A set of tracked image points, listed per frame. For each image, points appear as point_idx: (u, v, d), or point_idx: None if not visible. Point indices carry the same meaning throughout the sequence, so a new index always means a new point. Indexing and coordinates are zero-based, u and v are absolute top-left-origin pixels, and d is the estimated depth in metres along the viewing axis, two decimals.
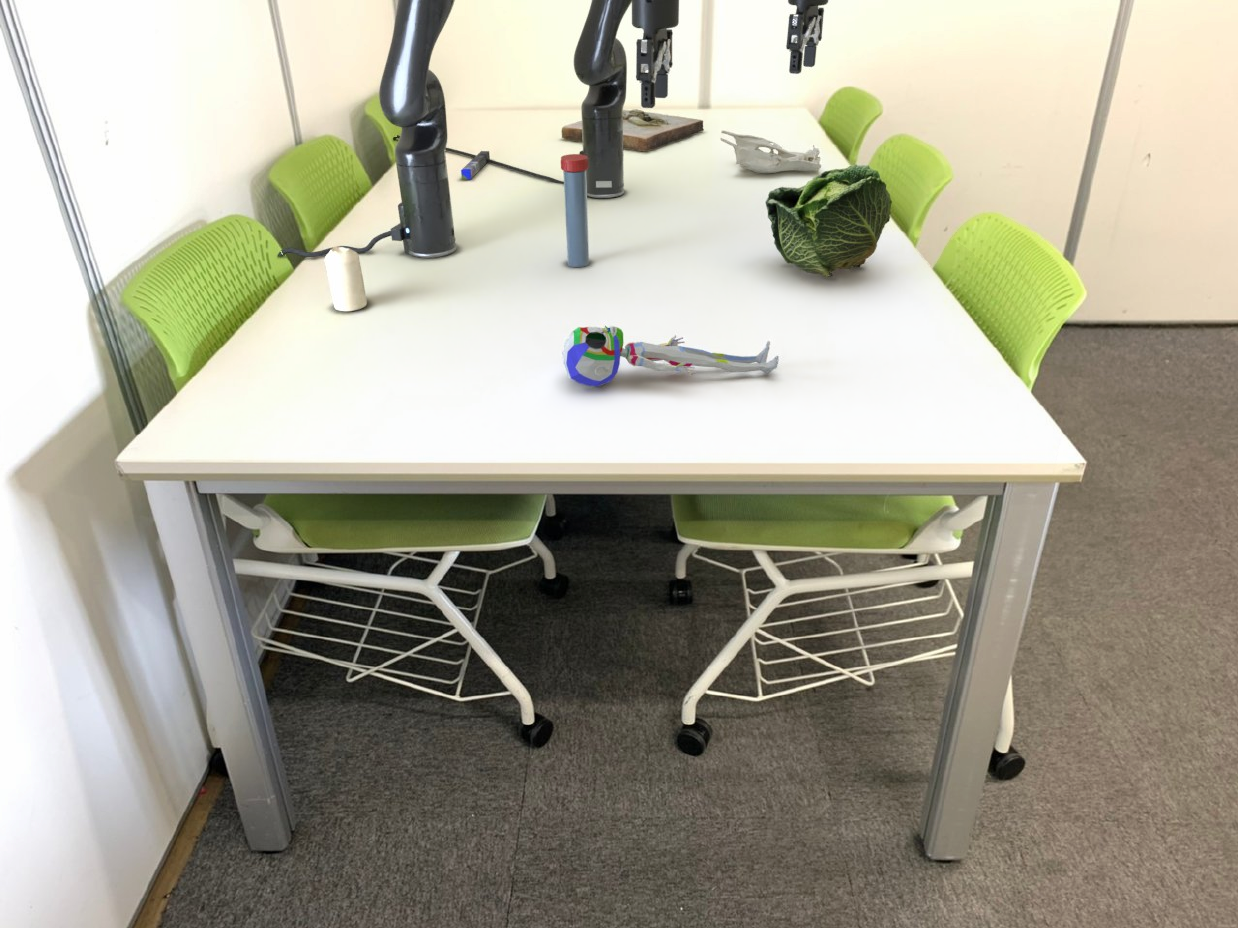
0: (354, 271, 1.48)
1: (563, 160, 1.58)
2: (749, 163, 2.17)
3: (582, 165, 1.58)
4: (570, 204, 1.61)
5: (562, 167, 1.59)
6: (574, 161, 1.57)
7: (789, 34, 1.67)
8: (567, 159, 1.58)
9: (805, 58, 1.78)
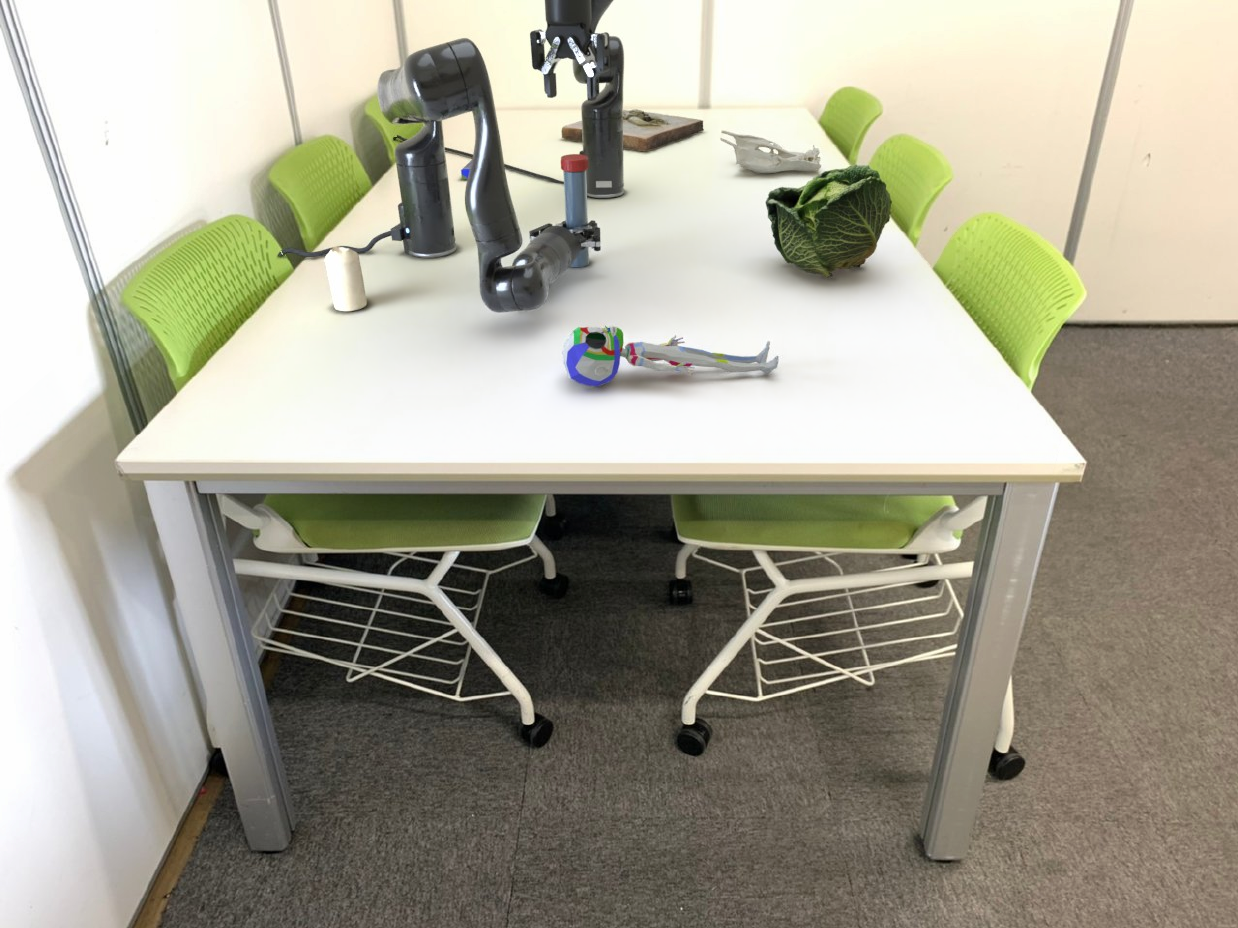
0: (354, 271, 1.48)
1: (563, 160, 1.58)
2: (749, 163, 2.17)
3: (582, 165, 1.58)
4: (570, 204, 1.61)
5: (562, 167, 1.59)
6: (574, 161, 1.57)
7: None
8: (567, 159, 1.58)
9: None
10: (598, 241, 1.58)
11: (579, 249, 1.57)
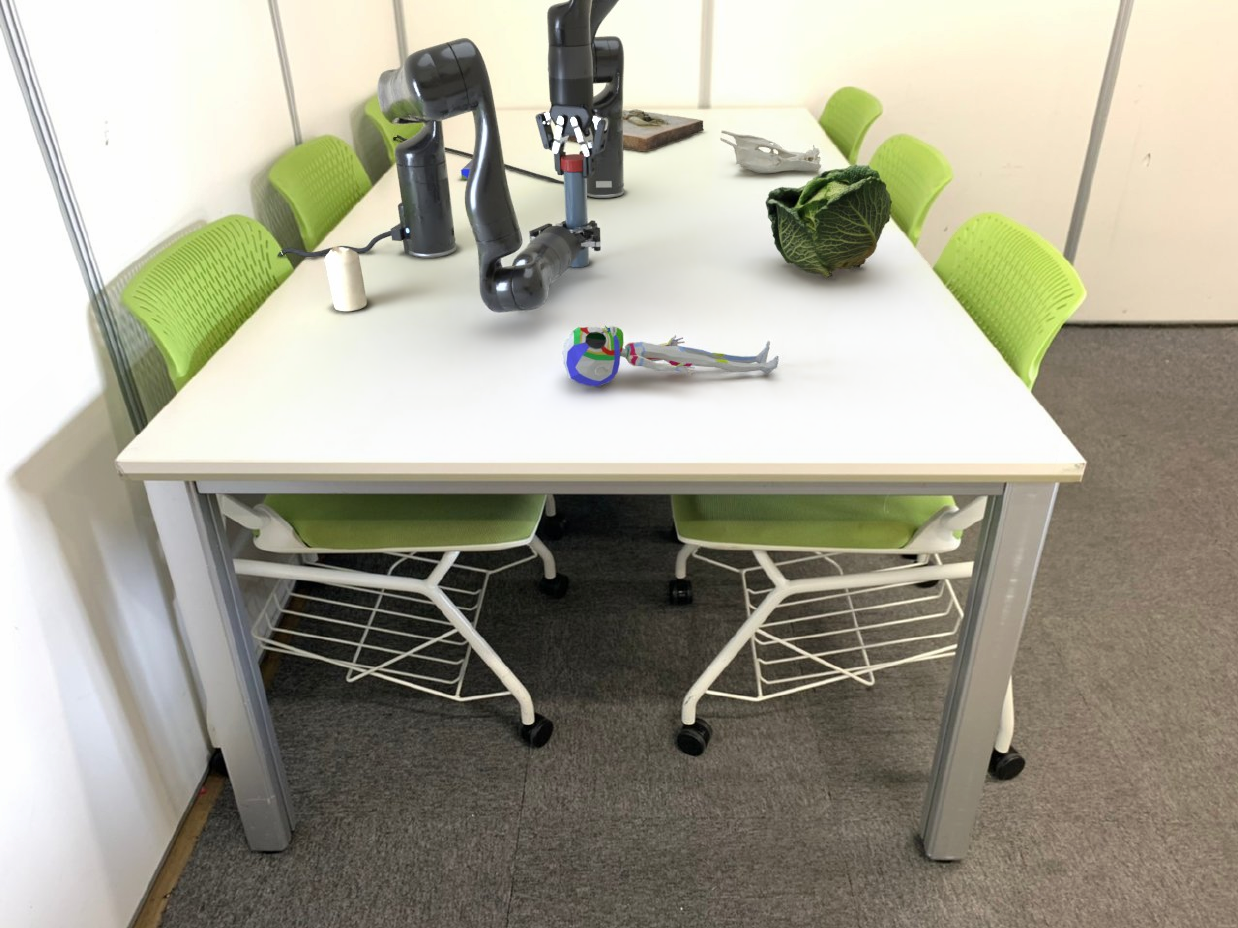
0: (354, 271, 1.48)
1: (563, 160, 1.58)
2: (749, 163, 2.17)
3: (582, 165, 1.58)
4: (570, 204, 1.61)
5: (562, 167, 1.59)
6: (574, 161, 1.57)
7: None
8: (567, 159, 1.58)
9: None
10: (598, 241, 1.58)
11: (579, 249, 1.57)
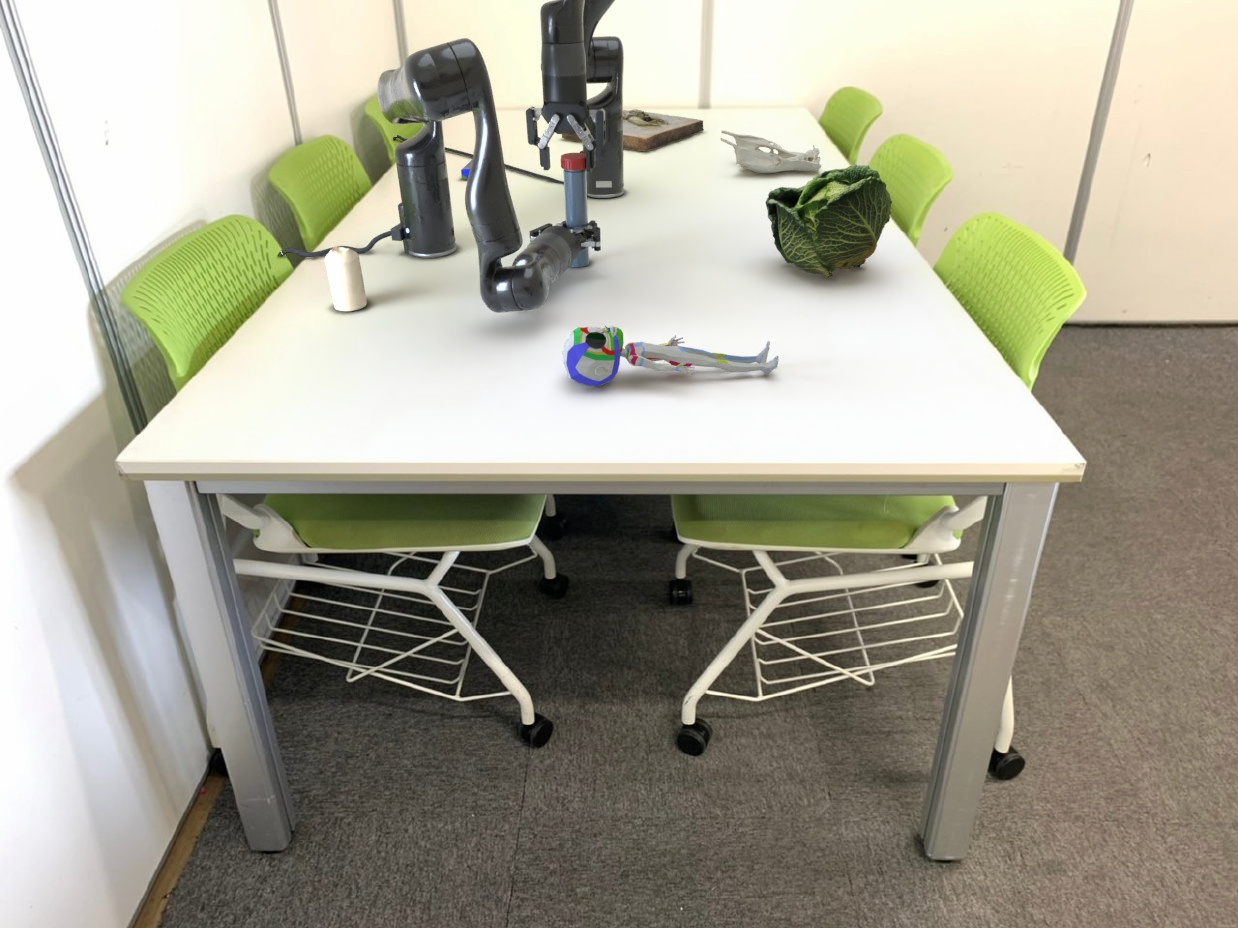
0: (354, 271, 1.48)
1: (583, 158, 1.58)
2: (749, 163, 2.17)
3: None
4: (570, 203, 1.61)
5: (582, 166, 1.58)
6: None
7: None
8: (583, 156, 1.58)
9: None
10: (598, 241, 1.58)
11: (579, 249, 1.57)
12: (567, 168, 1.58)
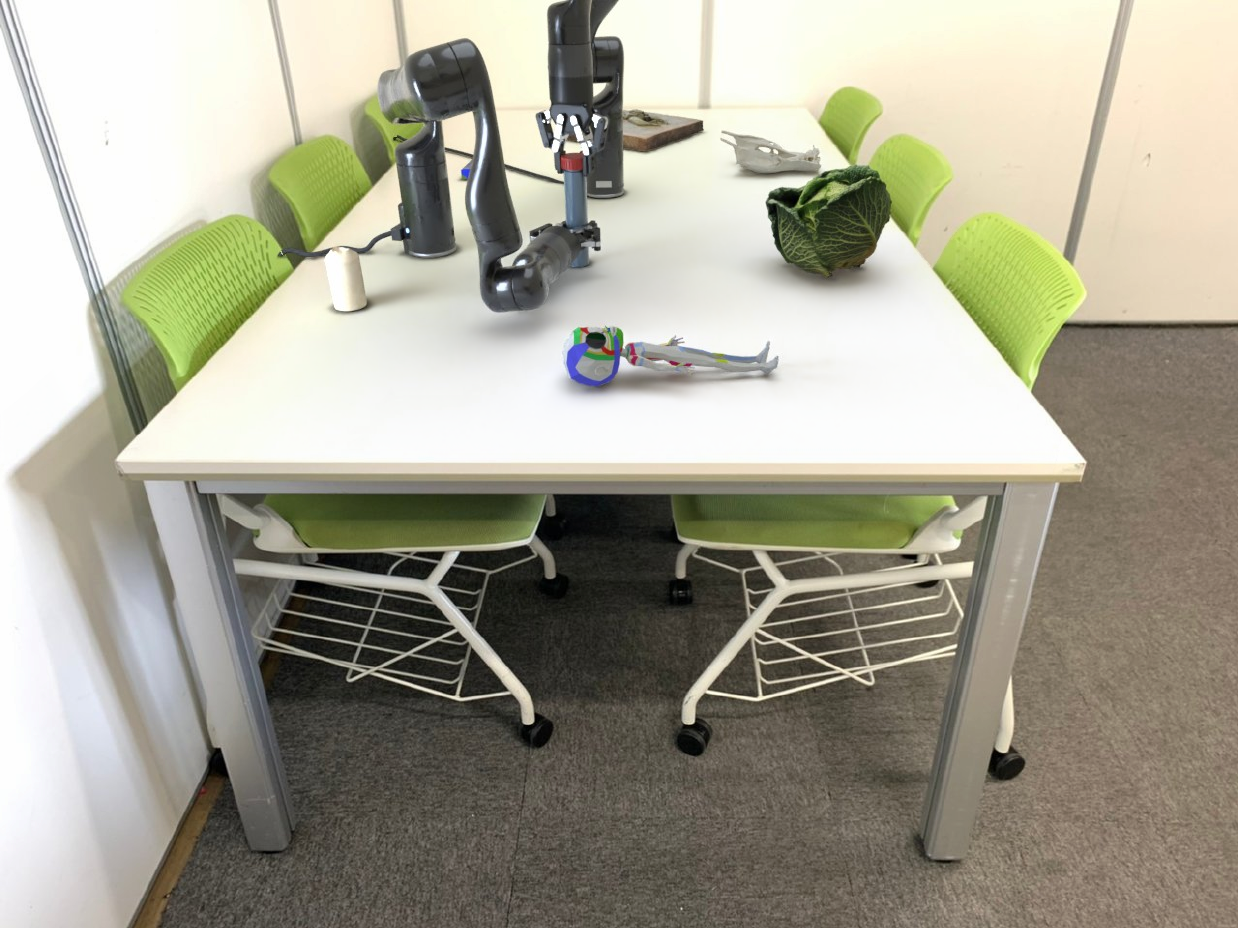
0: (354, 271, 1.48)
1: None
2: (749, 163, 2.17)
3: None
4: (570, 203, 1.61)
5: (582, 166, 1.58)
6: None
7: None
8: None
9: None
10: (598, 241, 1.58)
11: (579, 249, 1.57)
12: (567, 168, 1.58)
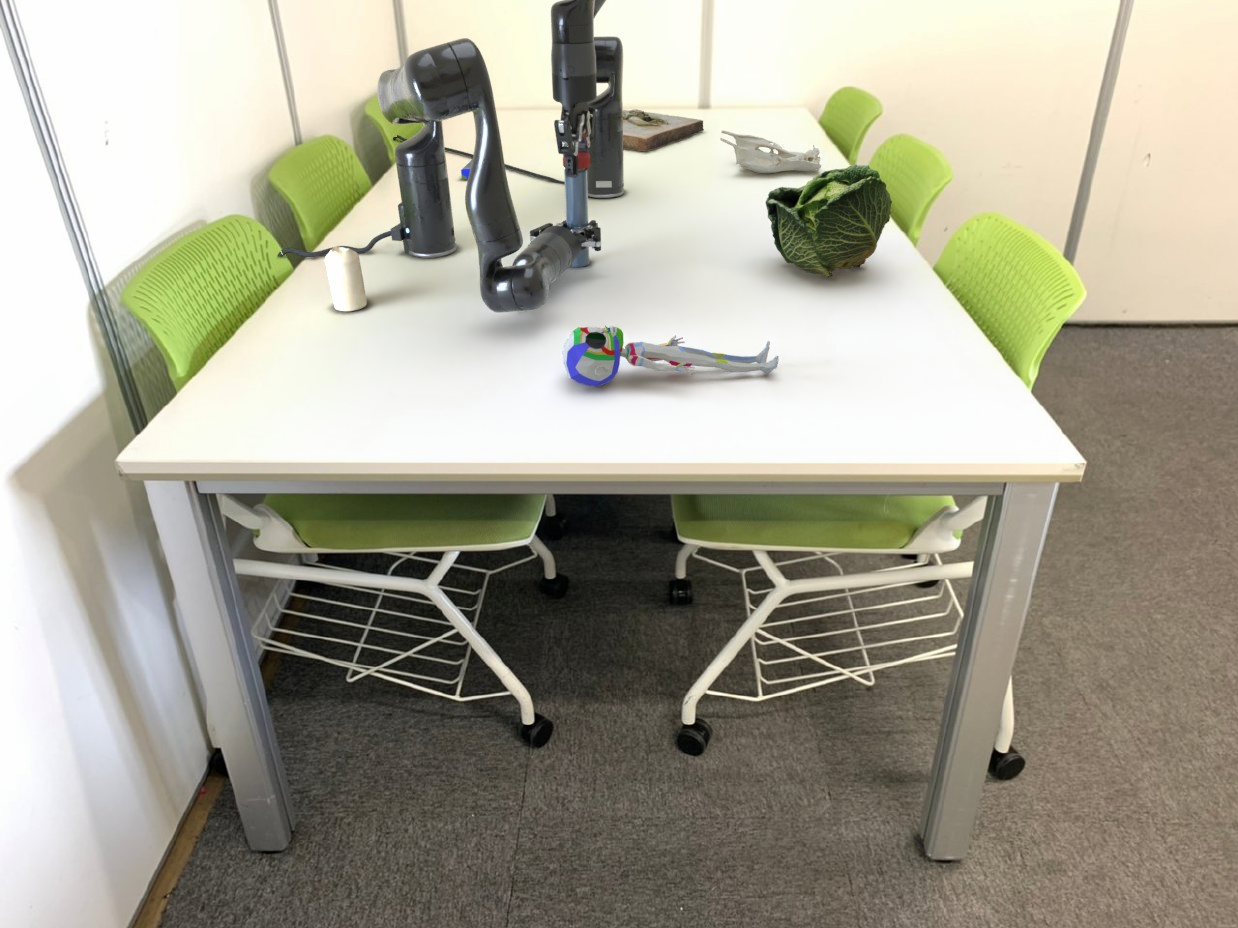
0: (354, 271, 1.48)
1: None
2: (749, 163, 2.17)
3: None
4: (571, 203, 1.61)
5: None
6: None
7: (558, 140, 1.52)
8: (580, 152, 1.60)
9: None
10: (598, 241, 1.58)
11: (579, 249, 1.57)
12: (588, 165, 1.59)
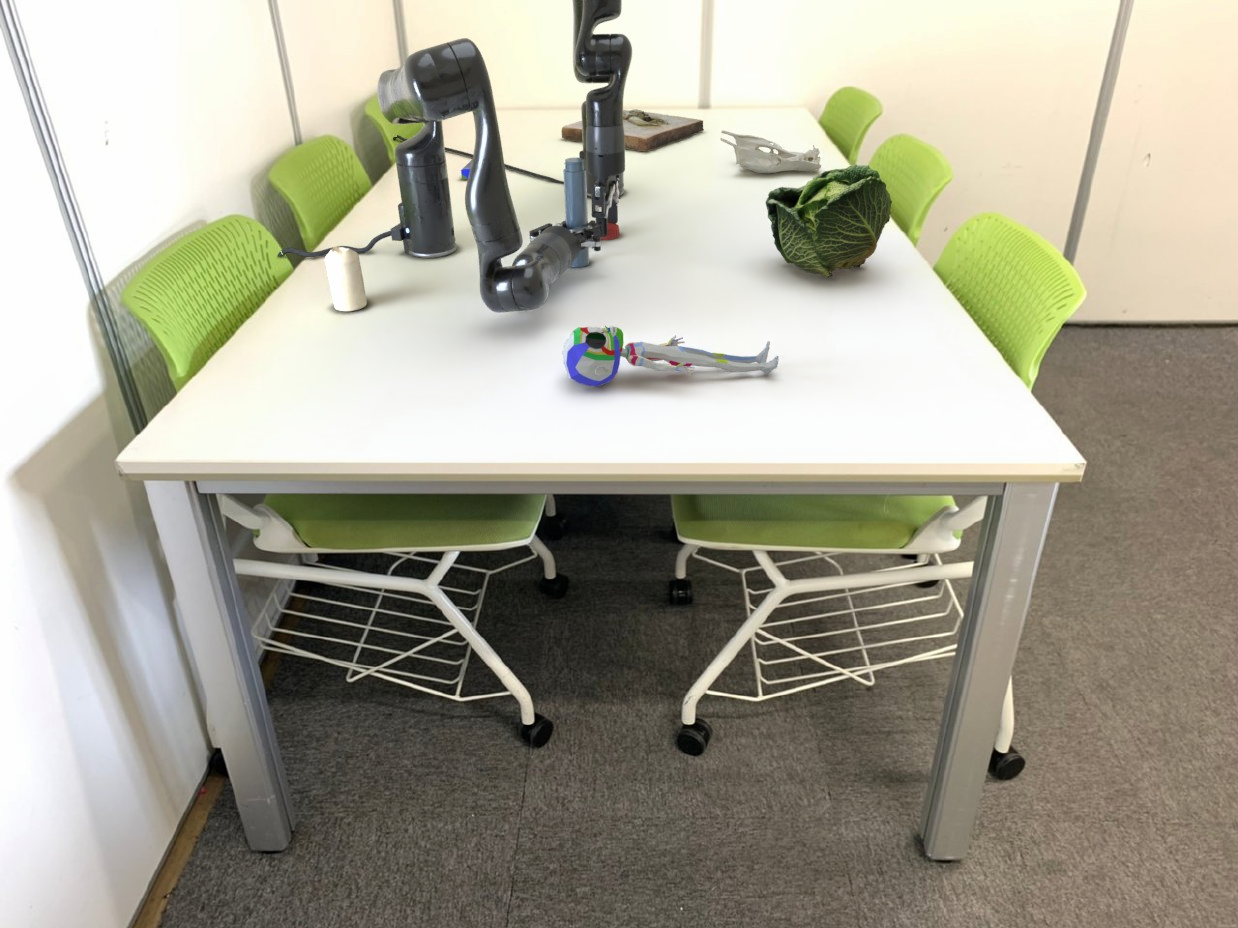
0: (354, 271, 1.48)
1: None
2: (749, 163, 2.17)
3: None
4: (570, 203, 1.61)
5: None
6: None
7: (593, 204, 1.73)
8: (609, 223, 1.83)
9: (608, 216, 1.85)
10: (598, 241, 1.58)
11: (579, 249, 1.57)
12: (618, 235, 1.82)
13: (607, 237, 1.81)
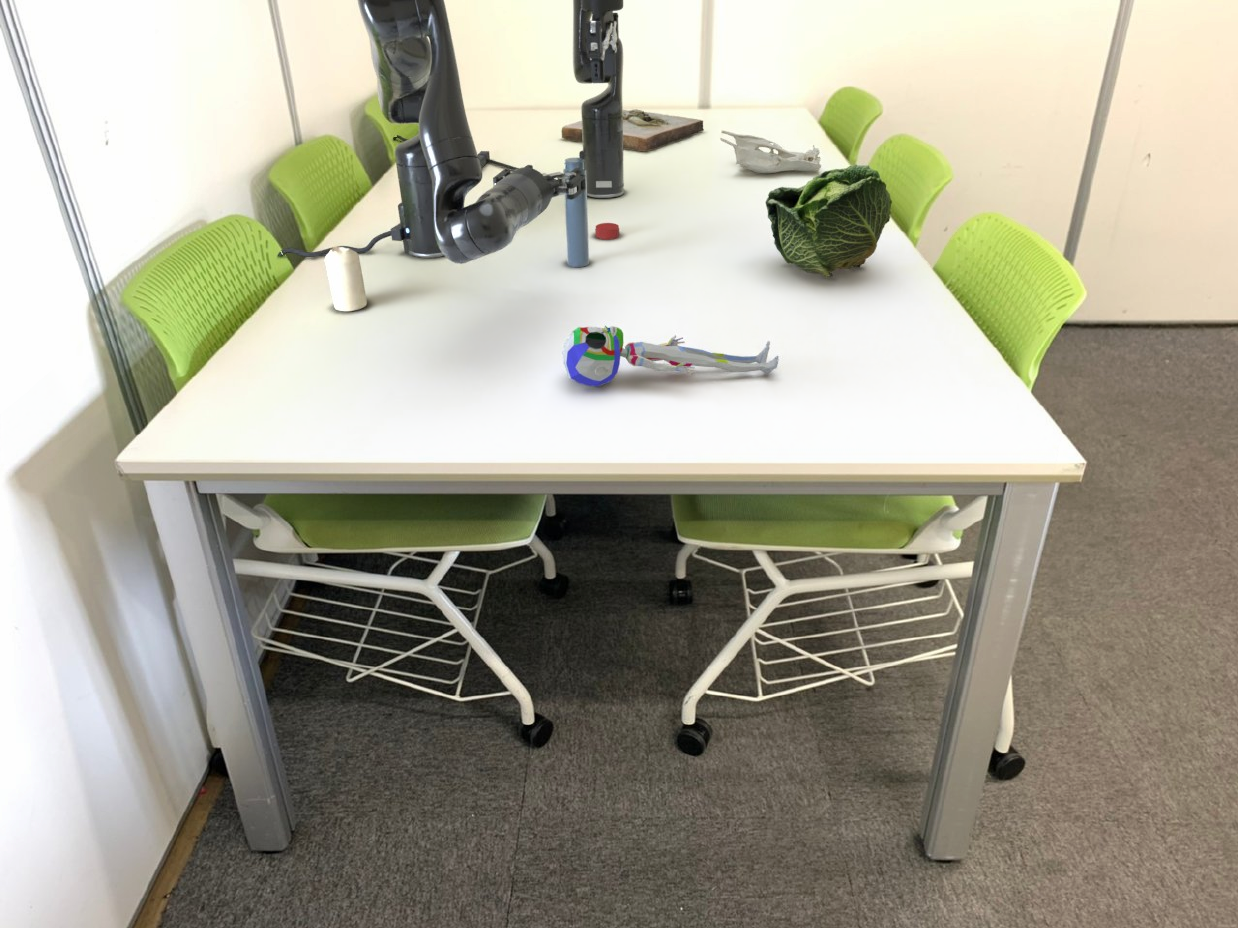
0: (354, 271, 1.48)
1: None
2: (749, 163, 2.17)
3: None
4: (570, 203, 1.61)
5: None
6: None
7: (588, 41, 1.58)
8: (609, 223, 1.83)
9: (605, 66, 1.70)
10: (570, 188, 1.40)
11: (551, 194, 1.40)
12: (618, 235, 1.82)
13: (607, 237, 1.81)
